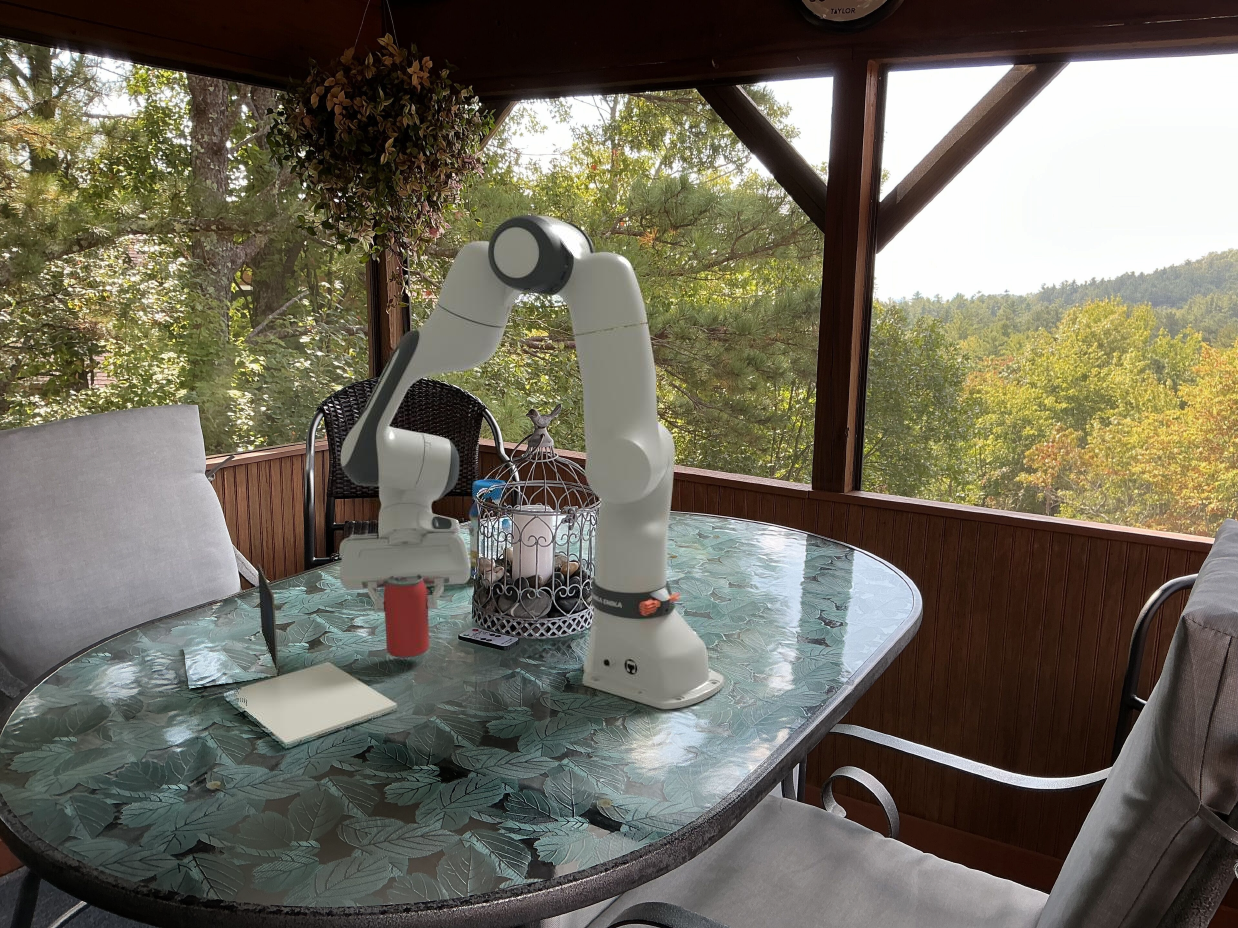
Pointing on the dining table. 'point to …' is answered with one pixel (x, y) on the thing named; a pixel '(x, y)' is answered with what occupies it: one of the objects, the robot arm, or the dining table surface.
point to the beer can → (406, 616)
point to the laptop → (268, 616)
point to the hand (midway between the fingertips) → (406, 609)
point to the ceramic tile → (311, 702)
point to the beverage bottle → (473, 516)
